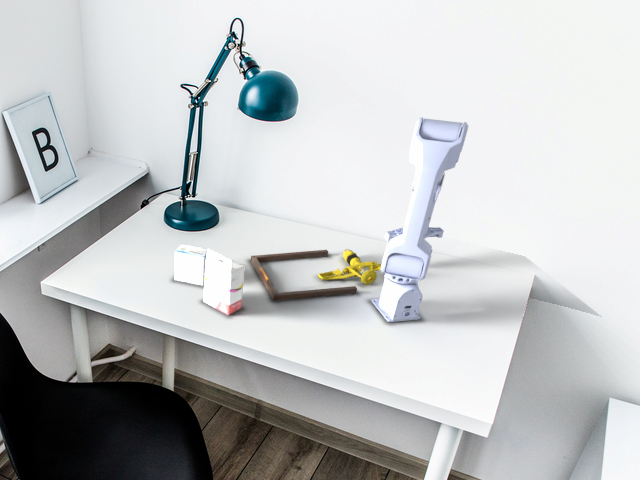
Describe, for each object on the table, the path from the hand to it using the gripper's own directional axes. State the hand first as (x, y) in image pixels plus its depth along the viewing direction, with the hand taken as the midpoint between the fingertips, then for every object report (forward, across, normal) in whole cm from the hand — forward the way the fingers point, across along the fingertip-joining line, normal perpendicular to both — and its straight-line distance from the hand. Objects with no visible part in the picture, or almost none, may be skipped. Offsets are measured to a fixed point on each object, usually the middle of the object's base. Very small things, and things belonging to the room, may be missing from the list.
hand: (406, 262), depth 170 cm
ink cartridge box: (+2, +52, +10) cm, 53 cm away
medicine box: (+2, +57, -3) cm, 57 cm away
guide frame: (+1, +28, 0) cm, 28 cm away
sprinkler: (+2, +15, 0) cm, 15 cm away
